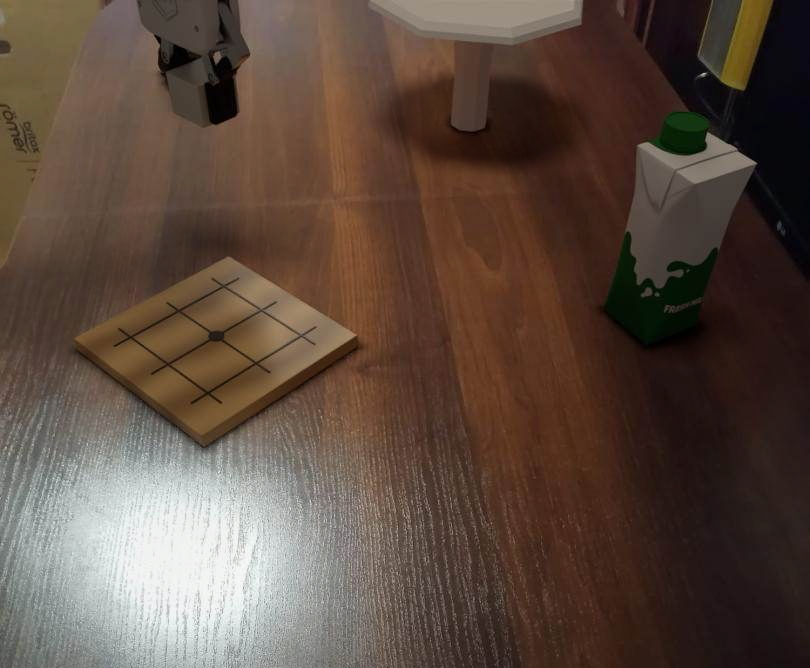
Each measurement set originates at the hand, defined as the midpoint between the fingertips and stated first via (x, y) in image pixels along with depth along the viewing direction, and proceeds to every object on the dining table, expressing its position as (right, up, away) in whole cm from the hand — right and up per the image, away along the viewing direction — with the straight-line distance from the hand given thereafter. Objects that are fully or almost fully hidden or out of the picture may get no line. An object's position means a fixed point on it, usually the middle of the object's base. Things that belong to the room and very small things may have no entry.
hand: (205, 109), depth 88 cm
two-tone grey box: (0, 0, 0) cm, 0 cm away
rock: (-11, +23, +38) cm, 45 cm away
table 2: (+29, +14, +31) cm, 45 cm away
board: (+1, -24, 0) cm, 25 cm away
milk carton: (+46, -20, +4) cm, 51 cm away
